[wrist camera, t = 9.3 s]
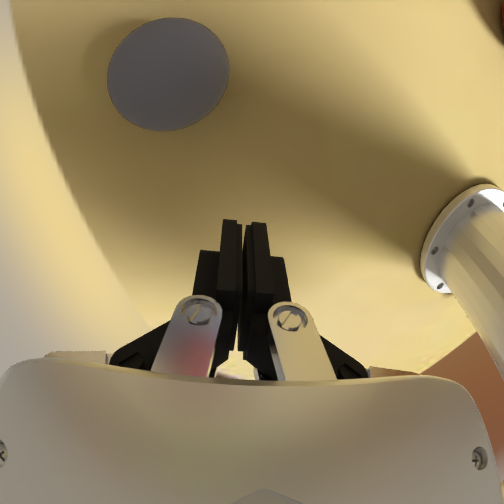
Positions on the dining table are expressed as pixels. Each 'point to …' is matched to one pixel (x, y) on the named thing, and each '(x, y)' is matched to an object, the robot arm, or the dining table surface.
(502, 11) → the fruit
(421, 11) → the dining table surface
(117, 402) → the robot arm
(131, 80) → the grey ball
